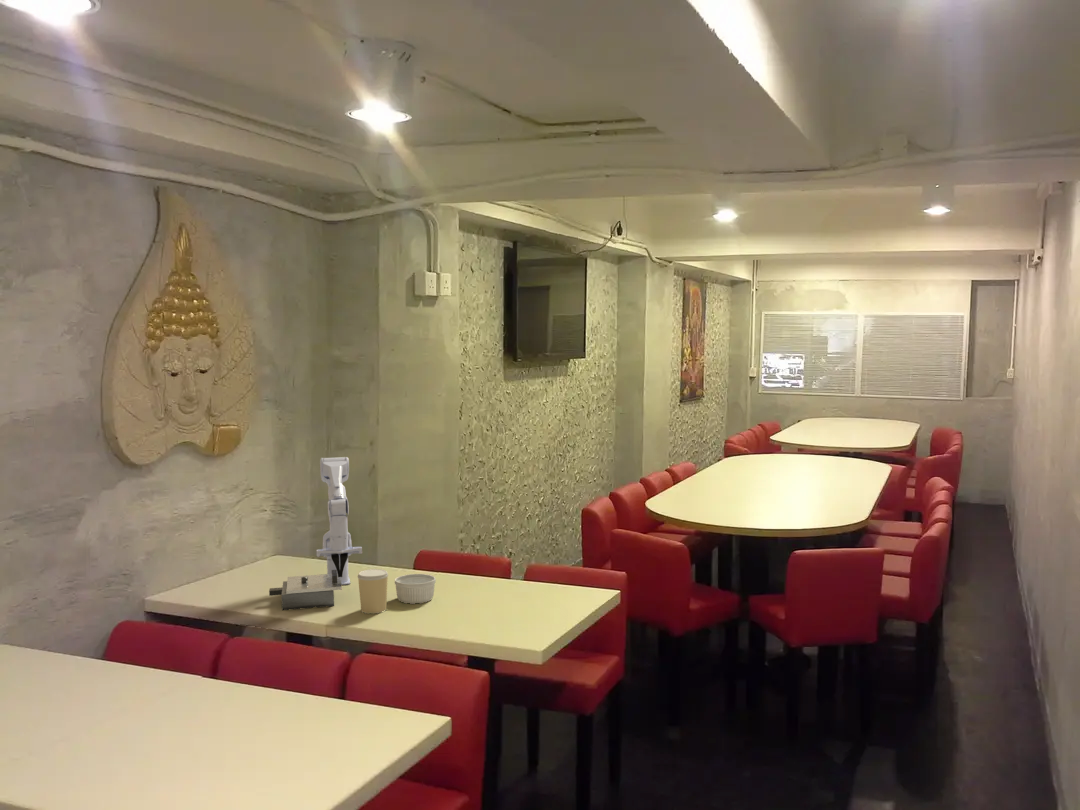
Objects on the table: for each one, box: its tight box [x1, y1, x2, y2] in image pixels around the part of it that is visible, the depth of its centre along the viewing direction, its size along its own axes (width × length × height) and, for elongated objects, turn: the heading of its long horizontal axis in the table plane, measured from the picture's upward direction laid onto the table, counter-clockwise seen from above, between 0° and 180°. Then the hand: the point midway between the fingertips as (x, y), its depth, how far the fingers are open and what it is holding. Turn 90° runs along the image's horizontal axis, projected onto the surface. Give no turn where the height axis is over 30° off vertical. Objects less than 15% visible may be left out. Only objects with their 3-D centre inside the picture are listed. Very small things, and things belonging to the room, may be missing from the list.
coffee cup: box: [357, 568, 389, 614], centre depth 274 cm, size 9×9×12 cm
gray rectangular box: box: [268, 580, 335, 611], centre depth 284 cm, size 16×20×5 cm
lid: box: [286, 570, 343, 594], centre depth 284 cm, size 17×17×3 cm
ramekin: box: [394, 573, 437, 605], centre depth 285 cm, size 13×13×7 cm
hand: (340, 576), depth 286 cm, fingers closed
